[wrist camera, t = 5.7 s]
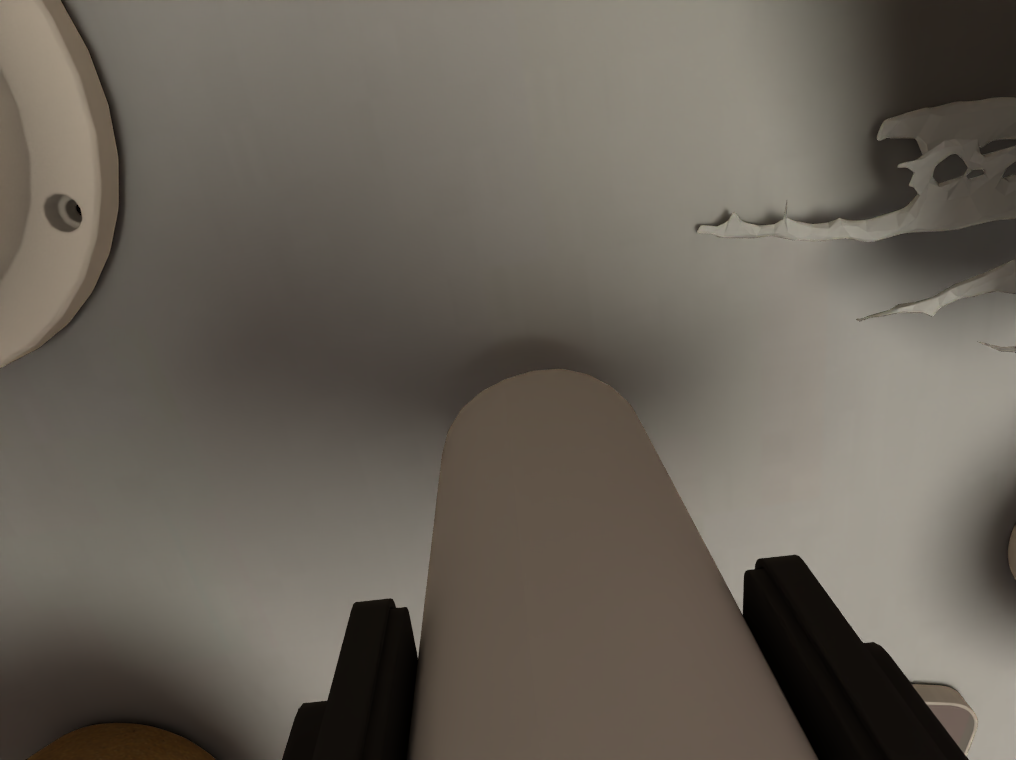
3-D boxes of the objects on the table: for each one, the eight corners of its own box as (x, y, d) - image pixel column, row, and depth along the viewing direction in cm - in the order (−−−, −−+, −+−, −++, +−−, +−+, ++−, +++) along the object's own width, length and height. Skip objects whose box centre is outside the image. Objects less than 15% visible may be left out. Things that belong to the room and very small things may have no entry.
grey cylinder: (622, 545, 17) (878, 1311, 6) (434, 529, 17) (346, 1314, 6) (660, 370, 16) (1104, 987, 5) (452, 347, 15) (377, 962, 4)
